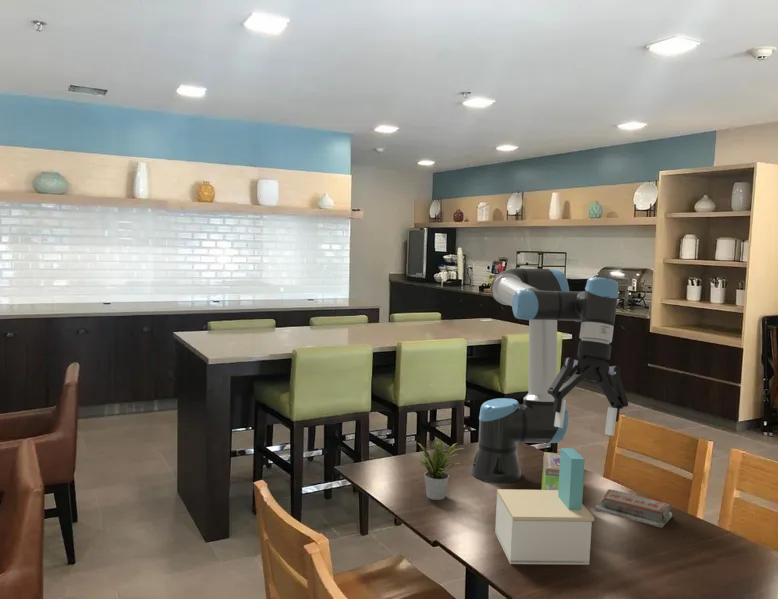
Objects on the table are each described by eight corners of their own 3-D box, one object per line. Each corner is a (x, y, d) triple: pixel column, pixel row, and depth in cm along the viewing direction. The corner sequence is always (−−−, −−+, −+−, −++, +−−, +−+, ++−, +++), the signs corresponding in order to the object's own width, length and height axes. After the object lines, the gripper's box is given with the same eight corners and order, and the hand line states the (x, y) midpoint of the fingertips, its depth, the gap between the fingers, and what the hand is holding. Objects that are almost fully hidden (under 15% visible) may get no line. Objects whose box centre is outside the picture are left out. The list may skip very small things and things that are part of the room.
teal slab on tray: (570, 493, 163) (573, 443, 162) (593, 521, 147) (597, 465, 146) (496, 492, 162) (499, 441, 161) (512, 520, 146) (515, 464, 145)
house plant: (473, 504, 180) (475, 446, 179) (426, 510, 175) (429, 450, 174) (450, 486, 193) (453, 432, 192) (407, 491, 189) (409, 435, 187)
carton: (566, 533, 164) (568, 494, 163) (589, 564, 148) (591, 521, 147) (495, 532, 163) (497, 493, 162) (510, 563, 147) (512, 520, 146)
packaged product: (673, 500, 176) (663, 512, 168) (672, 518, 177) (662, 530, 169) (607, 484, 187) (594, 494, 179) (606, 500, 188) (593, 511, 180)
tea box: (581, 528, 167) (585, 472, 166) (541, 524, 169) (544, 468, 168) (577, 506, 182) (580, 453, 181) (539, 502, 184) (542, 450, 183)
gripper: (556, 332, 151) (544, 425, 148) (650, 350, 157) (639, 440, 154) (541, 333, 158) (528, 421, 156) (630, 350, 164) (620, 436, 161)
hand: (584, 431), depth 155 cm, fingers open, 13 cm apart
